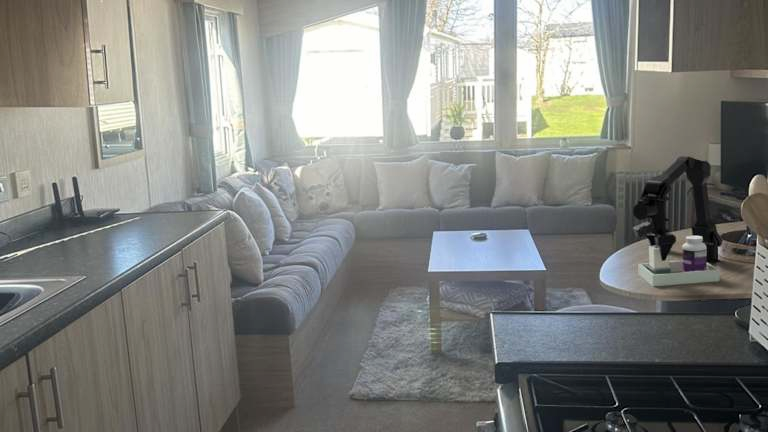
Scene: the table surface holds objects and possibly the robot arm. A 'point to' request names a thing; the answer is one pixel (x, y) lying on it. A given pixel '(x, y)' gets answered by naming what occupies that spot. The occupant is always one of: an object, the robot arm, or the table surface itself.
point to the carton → (656, 258)
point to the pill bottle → (694, 254)
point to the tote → (678, 275)
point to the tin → (658, 270)
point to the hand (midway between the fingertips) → (659, 257)
